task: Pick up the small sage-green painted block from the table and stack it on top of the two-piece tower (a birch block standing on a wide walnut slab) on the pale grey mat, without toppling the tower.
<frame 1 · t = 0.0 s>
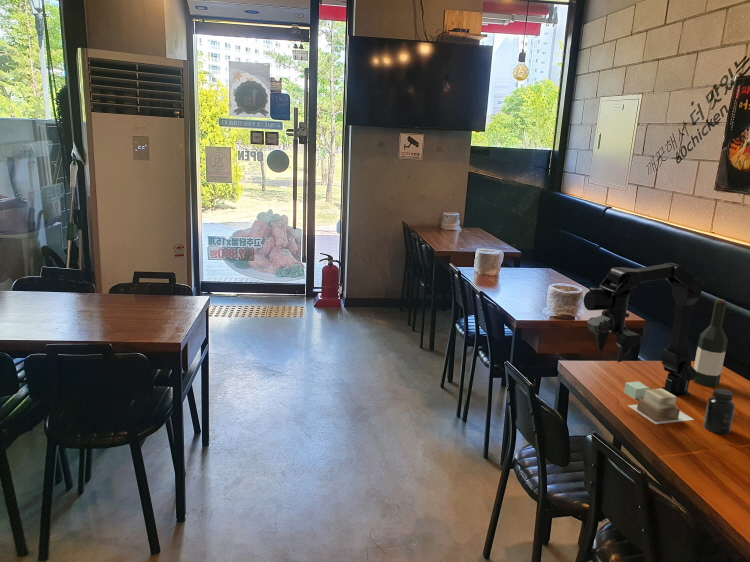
hand: (609, 356, 176), 15 cm above the table, fingers open, 9 cm apart
sage block: (635, 396, 183), on the table
birch block: (658, 403, 169), point 4 cm above the table, touching walnut slab
supplement bottle: (715, 430, 163), on the table
grey mat: (659, 413, 171), on the table
wine bottle: (704, 382, 196), on the table
walnut slab: (657, 414, 170), resting on grey mat, touching birch block
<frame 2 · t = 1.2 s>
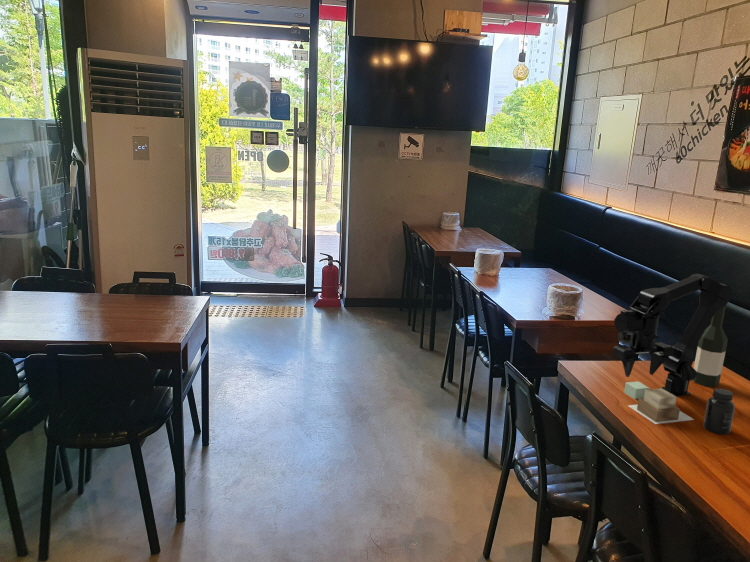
hand: (639, 375, 181), 7 cm above the table, fingers open, 9 cm apart
nothing on the table moved.
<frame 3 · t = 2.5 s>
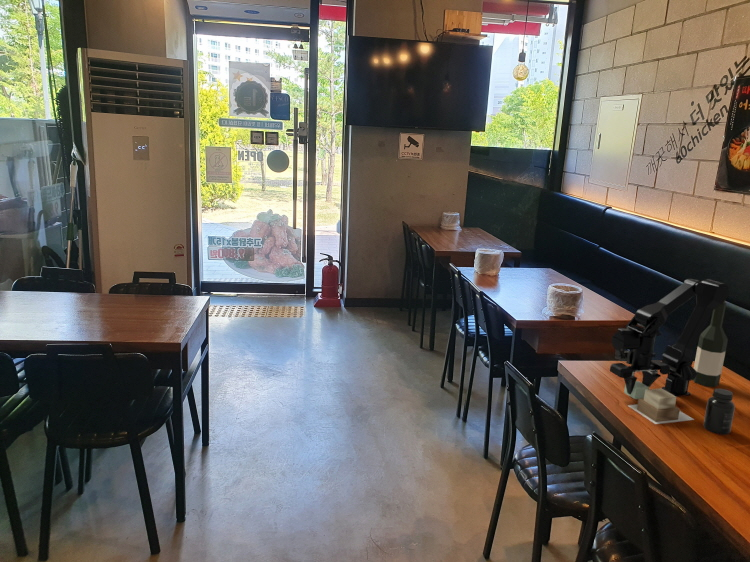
hand: (636, 393, 183), 1 cm above the table, fingers closed on sage block, 5 cm apart
sage block: (635, 396, 183), on the table, touching gripper
everything else where it was.
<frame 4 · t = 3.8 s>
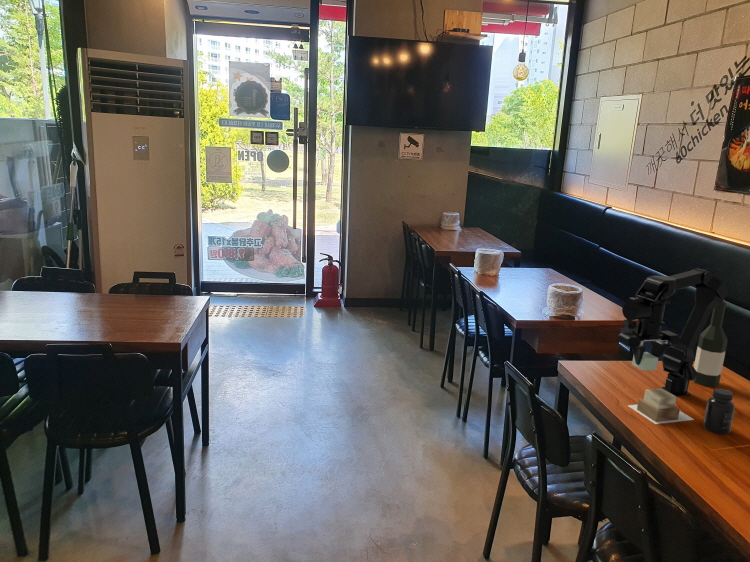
hand: (644, 364, 178), 12 cm above the table, fingers closed on sage block, 5 cm apart
sage block: (644, 367, 178), point 11 cm above the table, touching gripper
everything else where it was.
when the fingers open (9 cm above the table, at t = 5.5 s): sage block drops 1 cm, resting on birch block.
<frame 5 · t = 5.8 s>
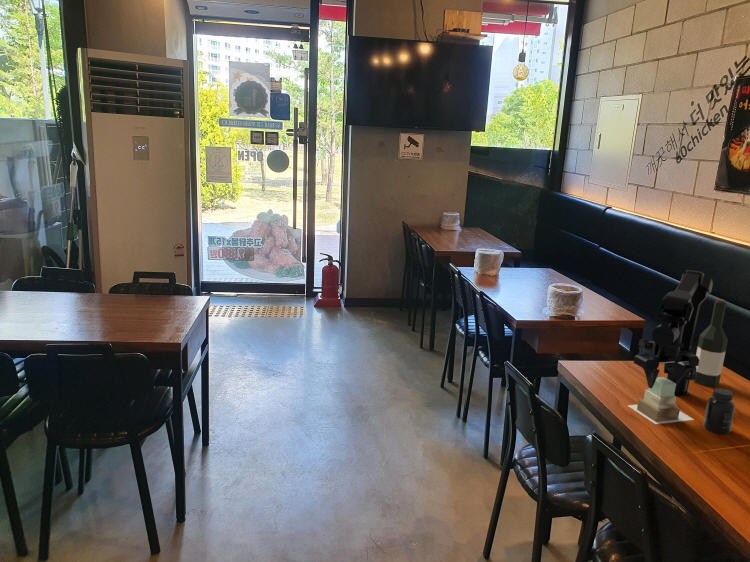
hand: (661, 386, 168), 9 cm above the table, fingers open, 8 cm apart
sage block: (660, 393, 168), point 7 cm above the table, touching birch block
birch block: (658, 403, 169), point 4 cm above the table, touching sage block, walnut slab
everything else where it was.
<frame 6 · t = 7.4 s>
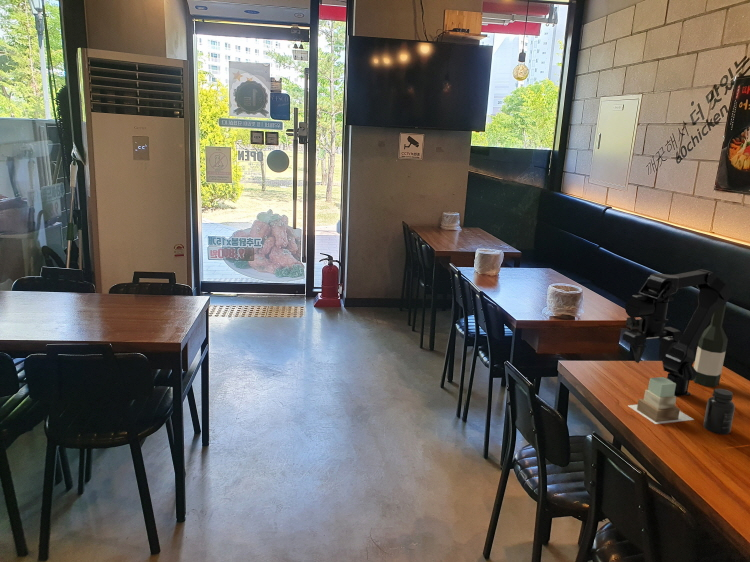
hand: (648, 361, 179), 13 cm above the table, fingers open, 9 cm apart
nothing on the table moved.
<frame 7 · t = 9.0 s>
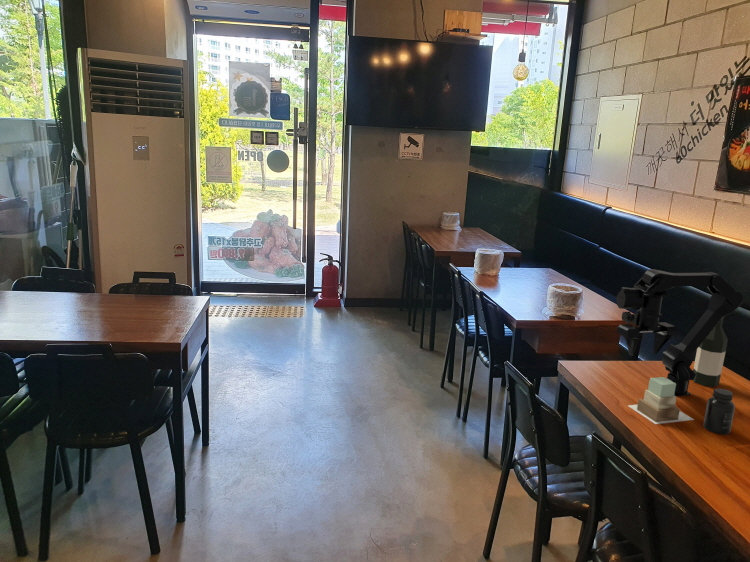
hand: (642, 354, 183), 13 cm above the table, fingers open, 9 cm apart
nothing on the table moved.
at the end: sage block 0.1 cm off-centre on the walnut slab, point 7.0 cm above the walnut slab's base; birch block 0.0 cm off-centre on the walnut slab, point 3.5 cm above the walnut slab's base; sage block tilted 0° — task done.
